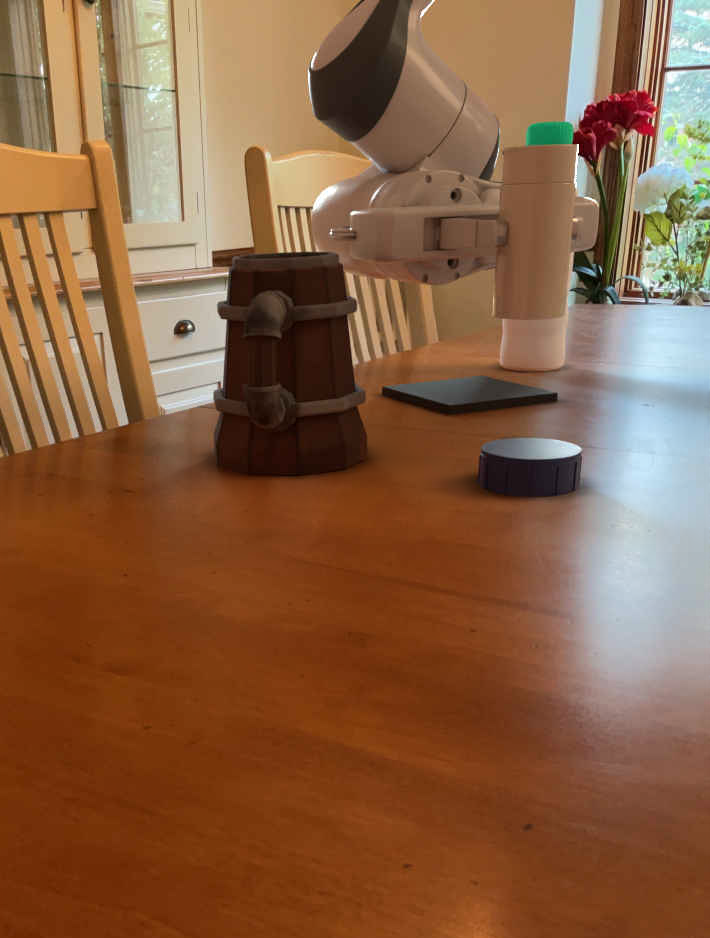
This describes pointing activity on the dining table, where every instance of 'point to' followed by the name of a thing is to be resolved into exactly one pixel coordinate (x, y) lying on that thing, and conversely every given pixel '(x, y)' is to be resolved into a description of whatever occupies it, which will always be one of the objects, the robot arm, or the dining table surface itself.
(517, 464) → the jam lid
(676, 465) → the dining table surface
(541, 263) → the jam jar
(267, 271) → the mug
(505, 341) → the water bottle
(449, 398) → the plate
